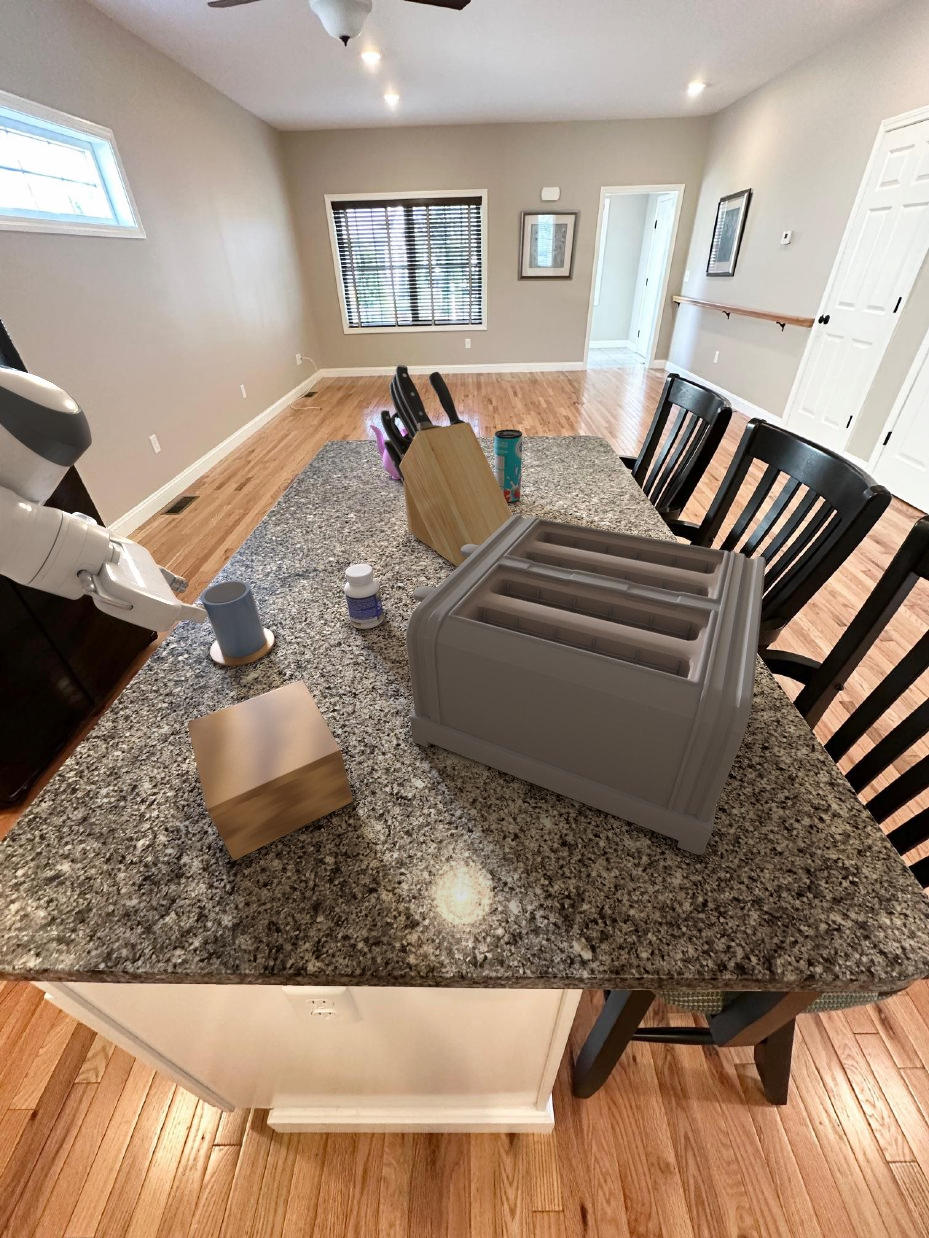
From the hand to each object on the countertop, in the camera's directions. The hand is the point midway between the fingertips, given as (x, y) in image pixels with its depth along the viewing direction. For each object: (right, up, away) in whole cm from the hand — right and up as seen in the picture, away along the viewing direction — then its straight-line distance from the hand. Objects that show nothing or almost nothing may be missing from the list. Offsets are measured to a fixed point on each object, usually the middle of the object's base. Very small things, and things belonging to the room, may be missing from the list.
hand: (194, 600), depth 68 cm
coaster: (+3, -6, +8) cm, 11 cm away
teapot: (+21, +35, +67) cm, 78 cm away
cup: (+3, -6, +8) cm, 10 cm away
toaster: (+49, -12, -2) cm, 50 cm away
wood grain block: (+16, -20, -13) cm, 29 cm away
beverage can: (+46, +25, +51) cm, 73 cm away
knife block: (+33, +13, +34) cm, 49 cm away
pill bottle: (+20, -3, +13) cm, 24 cm away
